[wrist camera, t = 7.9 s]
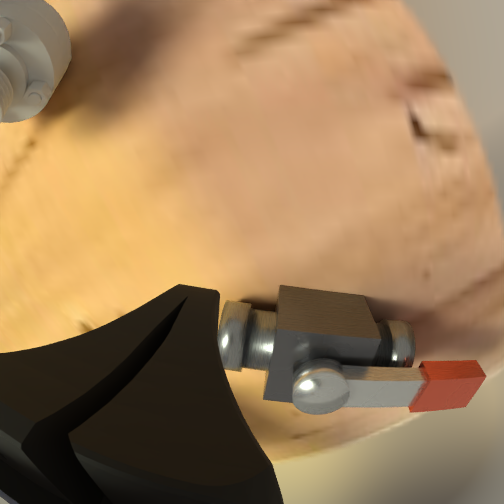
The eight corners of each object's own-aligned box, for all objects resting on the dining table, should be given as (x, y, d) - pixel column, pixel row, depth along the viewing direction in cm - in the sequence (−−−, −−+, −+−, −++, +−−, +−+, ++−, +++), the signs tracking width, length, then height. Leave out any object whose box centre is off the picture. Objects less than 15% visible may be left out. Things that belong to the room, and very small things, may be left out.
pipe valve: (378, 361, 22) (392, 406, 18) (225, 345, 23) (213, 391, 18) (404, 300, 20) (428, 341, 15) (231, 278, 21) (216, 319, 16)
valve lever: (288, 389, 17) (287, 412, 16) (298, 352, 16) (299, 375, 14) (456, 391, 17) (465, 408, 15) (476, 358, 15) (487, 376, 14)
